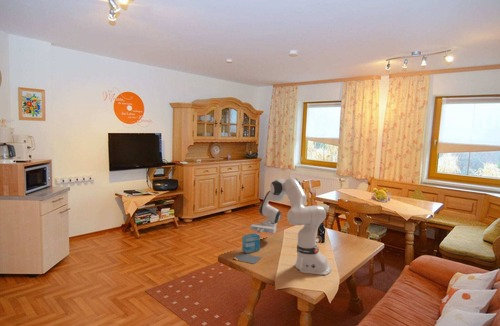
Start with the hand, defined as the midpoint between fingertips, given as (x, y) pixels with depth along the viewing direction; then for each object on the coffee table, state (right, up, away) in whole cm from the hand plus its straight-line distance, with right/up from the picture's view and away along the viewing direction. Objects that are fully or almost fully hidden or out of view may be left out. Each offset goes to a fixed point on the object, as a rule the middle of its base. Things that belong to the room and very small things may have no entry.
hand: (258, 231), depth 232 cm
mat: (-9, -13, -23) cm, 28 cm away
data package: (-6, -12, -10) cm, 17 cm away
